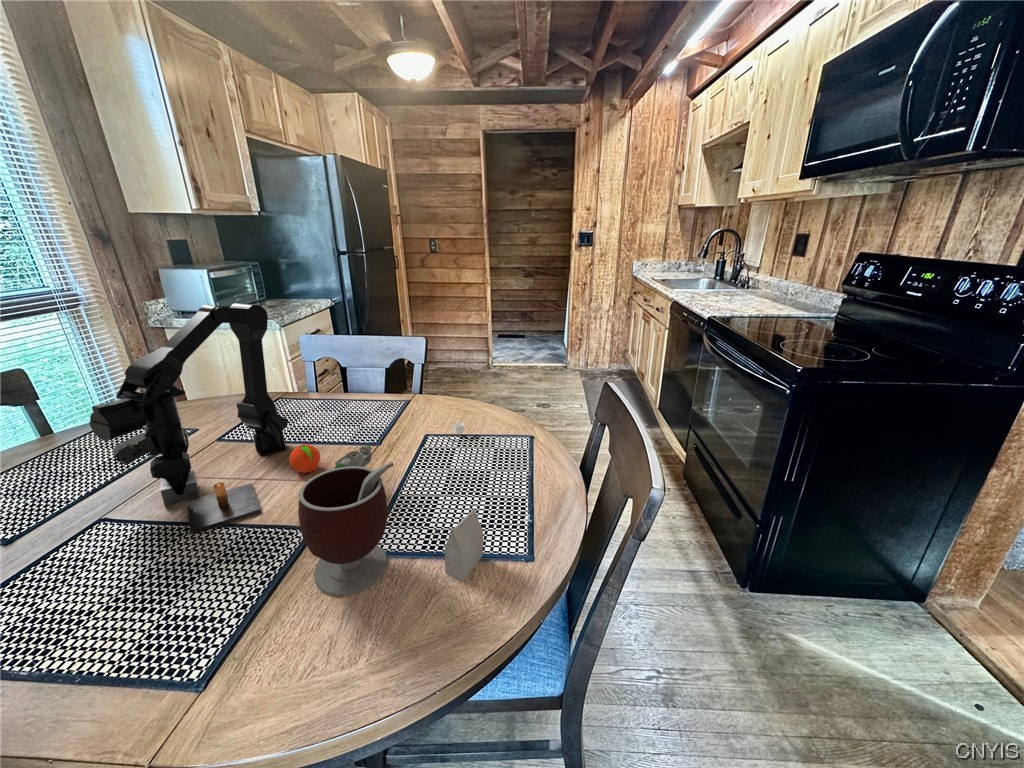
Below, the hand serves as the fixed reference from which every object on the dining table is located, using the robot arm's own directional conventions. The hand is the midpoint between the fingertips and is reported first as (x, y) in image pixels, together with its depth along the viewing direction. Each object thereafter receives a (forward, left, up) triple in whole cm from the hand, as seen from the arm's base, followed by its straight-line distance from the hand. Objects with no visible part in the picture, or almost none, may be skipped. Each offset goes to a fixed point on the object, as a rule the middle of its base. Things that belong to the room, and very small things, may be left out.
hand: (179, 484), depth 92 cm
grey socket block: (-7, +11, -3) cm, 13 cm away
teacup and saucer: (-66, +12, -4) cm, 67 cm away
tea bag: (-40, +55, -3) cm, 68 cm away
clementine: (-25, +5, -3) cm, 26 cm away
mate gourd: (-24, +44, -3) cm, 50 cm away
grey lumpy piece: (-32, +21, -3) cm, 38 cm away
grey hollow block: (0, 0, -3) cm, 3 cm away
